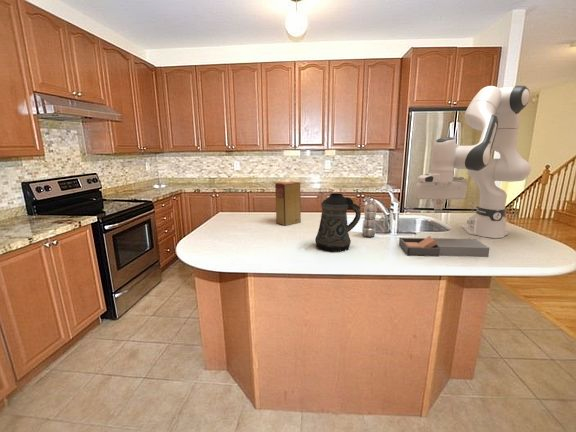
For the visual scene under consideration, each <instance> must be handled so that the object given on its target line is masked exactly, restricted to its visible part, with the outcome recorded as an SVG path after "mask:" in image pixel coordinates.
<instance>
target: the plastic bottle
mask: <svg viewBox="0 0 576 432" xmlns="http://www.w3.org/2000/svg"><path fill="white" fill-rule="evenodd" d="M366 202H367V203H365V206H364V208H363V214H364V224H363V229H362V235H363V236H364V237H375V235H376V234H377V233H376V231H377V230H376V229H377V228H376V216H377V211H378V207H377V206H376V203H375V202H376V200H375V198H374V197H367V199H366Z"/></svg>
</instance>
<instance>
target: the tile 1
mask: <svg viewBox="0 0 576 432" xmlns="http://www.w3.org/2000/svg"><path fill="white" fill-rule="evenodd" d="M405 243H406V244H407V245H408V246H409V247H421V246H420V245H419V244H418V243H417V242H405Z"/></svg>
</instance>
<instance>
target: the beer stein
mask: <svg viewBox="0 0 576 432" xmlns="http://www.w3.org/2000/svg"><path fill="white" fill-rule="evenodd" d="M320 205H321V208H322V210H321V216H320V221H319V227H318V231H317V232H316V233H317V234H316V237H315V247H316V249H318V250H319V251H323V252H327V253H328V252H329V253H342V251H343V252H346V251H348V250H349V249H350V246H351V242H352V240H351V237H350V235H349V233H350V232H351V231H352V230H353V229H354V228H355V227H356V225H357V224H358V223H359V222H360V219H361V215H362V213H361V207H360V206H359V205H357V204H356V203H354V200H353V199H352V198H351V197H349V196H348V197H347V196H344V195H343V194H342V193H336V192H335V193H334V192H333V193H330V195H329V196H328V197H327V198H325V199H324V200H323V201H322V202H321V203H320ZM347 211H354V212H355V216H354V219H352V221H351V222H350V223H349V224H348V217H347V215H348V214H347ZM345 250H346V251H345Z"/></svg>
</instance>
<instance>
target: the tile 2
mask: <svg viewBox="0 0 576 432" xmlns="http://www.w3.org/2000/svg"><path fill="white" fill-rule="evenodd" d="M418 244H419V245H420V246H421V247H422V248H432V247H433V246H435V245H436V244H437V243H436V242H435V240H434V239H432V236H430V235H429V236H427V237H425V239H424V240H422V241H421V242H419V243H418Z"/></svg>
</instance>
